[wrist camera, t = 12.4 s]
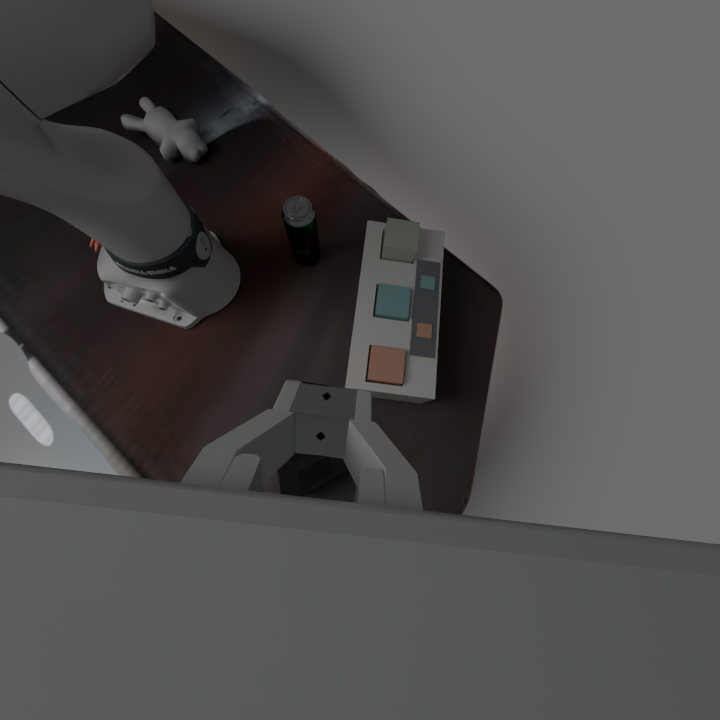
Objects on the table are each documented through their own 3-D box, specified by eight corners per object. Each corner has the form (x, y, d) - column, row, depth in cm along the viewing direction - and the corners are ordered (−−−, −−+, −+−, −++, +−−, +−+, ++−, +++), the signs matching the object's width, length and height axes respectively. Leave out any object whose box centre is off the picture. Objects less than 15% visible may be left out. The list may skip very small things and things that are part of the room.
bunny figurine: (179, 159, 51) (106, 111, 50) (191, 181, 56) (124, 138, 55) (211, 126, 53) (142, 80, 53) (220, 150, 58) (156, 108, 58)
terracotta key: (365, 383, 44) (367, 378, 39) (368, 352, 45) (371, 345, 40) (396, 387, 44) (402, 383, 39) (399, 357, 45) (405, 349, 41)
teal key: (372, 323, 46) (375, 313, 42) (375, 296, 47) (378, 282, 43) (402, 327, 46) (408, 317, 42) (404, 300, 47) (411, 287, 43)
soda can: (323, 246, 54) (318, 197, 42) (317, 270, 52) (310, 225, 41) (297, 241, 53) (284, 190, 42) (290, 264, 52) (276, 218, 41)
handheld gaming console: (318, 401, 45) (333, 439, 37) (341, 427, 49) (360, 468, 40) (260, 444, 45) (261, 493, 36) (287, 467, 48) (294, 517, 40)
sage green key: (380, 262, 46) (384, 245, 42) (383, 236, 47) (387, 217, 43) (409, 267, 46) (417, 250, 42) (412, 241, 48) (419, 222, 43)
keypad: (344, 393, 47) (345, 387, 39) (363, 249, 54) (367, 218, 46) (419, 403, 48) (436, 398, 40) (429, 259, 54) (445, 229, 46)
